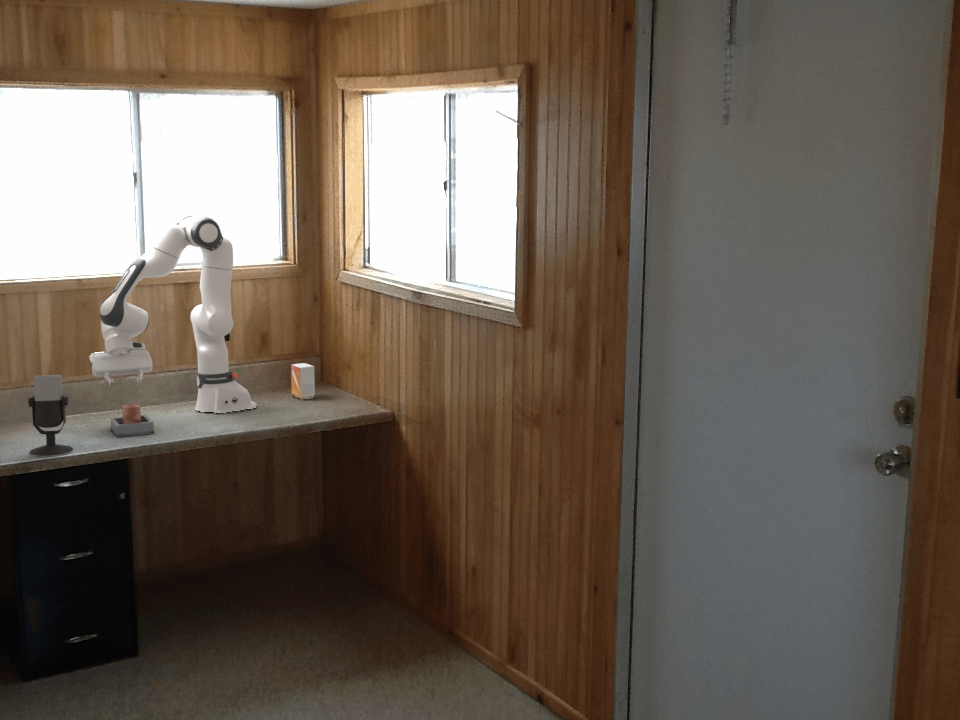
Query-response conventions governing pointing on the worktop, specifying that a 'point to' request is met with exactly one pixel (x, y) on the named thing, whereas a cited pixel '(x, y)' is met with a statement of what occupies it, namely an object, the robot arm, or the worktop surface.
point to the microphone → (48, 413)
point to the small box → (302, 380)
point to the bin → (131, 427)
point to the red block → (131, 414)
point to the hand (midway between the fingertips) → (125, 383)
